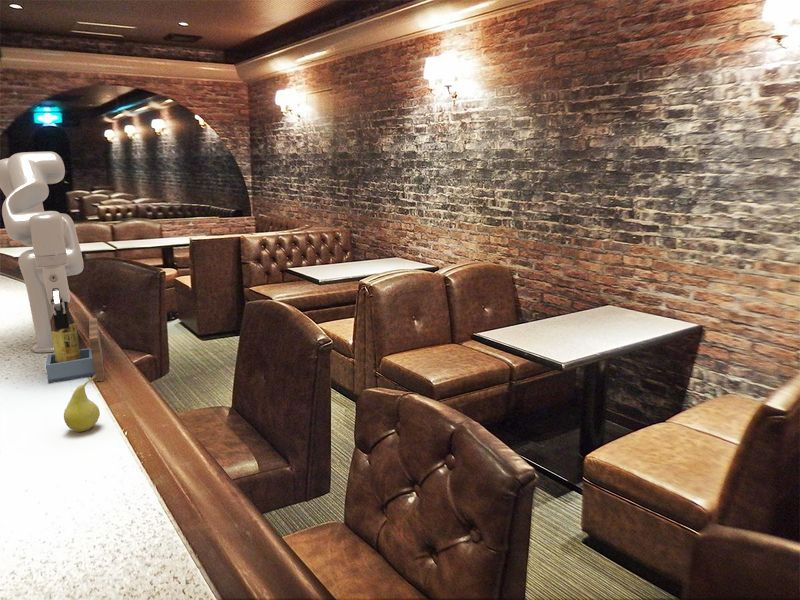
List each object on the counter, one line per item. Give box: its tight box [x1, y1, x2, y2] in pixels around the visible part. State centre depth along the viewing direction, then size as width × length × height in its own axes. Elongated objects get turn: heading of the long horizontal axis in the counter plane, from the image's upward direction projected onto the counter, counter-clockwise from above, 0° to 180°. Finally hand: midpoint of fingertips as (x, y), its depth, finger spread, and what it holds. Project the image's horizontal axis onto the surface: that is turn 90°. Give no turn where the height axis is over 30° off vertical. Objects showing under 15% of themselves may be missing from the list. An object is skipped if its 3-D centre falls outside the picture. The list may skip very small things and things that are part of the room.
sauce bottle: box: [50, 301, 81, 363], centre depth 173 cm, size 7×6×20 cm
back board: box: [88, 317, 106, 383], centre depth 177 cm, size 24×2×12 cm, turn 26°
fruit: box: [63, 375, 101, 433], centre depth 137 cm, size 7×8×12 cm
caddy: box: [45, 347, 95, 384], centre depth 175 cm, size 11×12×5 cm
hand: (62, 325), depth 173 cm, fingers closed on sauce bottle, 6 cm apart
